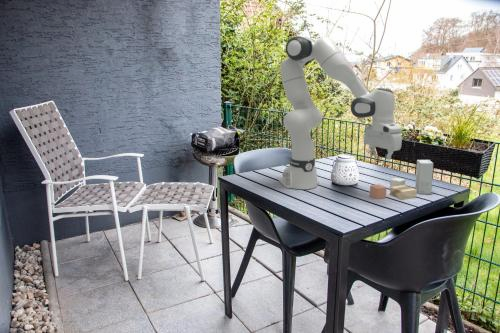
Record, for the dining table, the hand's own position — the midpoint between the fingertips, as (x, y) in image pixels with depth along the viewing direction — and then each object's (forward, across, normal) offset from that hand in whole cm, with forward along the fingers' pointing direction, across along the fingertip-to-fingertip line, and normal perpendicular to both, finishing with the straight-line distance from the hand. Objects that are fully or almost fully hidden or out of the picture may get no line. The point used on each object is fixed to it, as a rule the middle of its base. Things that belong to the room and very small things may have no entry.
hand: (380, 157), depth 168 cm
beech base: (+19, +4, +11) cm, 22 cm away
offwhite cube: (+19, -5, +16) cm, 25 cm away
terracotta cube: (+19, 0, 0) cm, 19 cm away
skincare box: (+19, +3, +24) cm, 31 cm away
